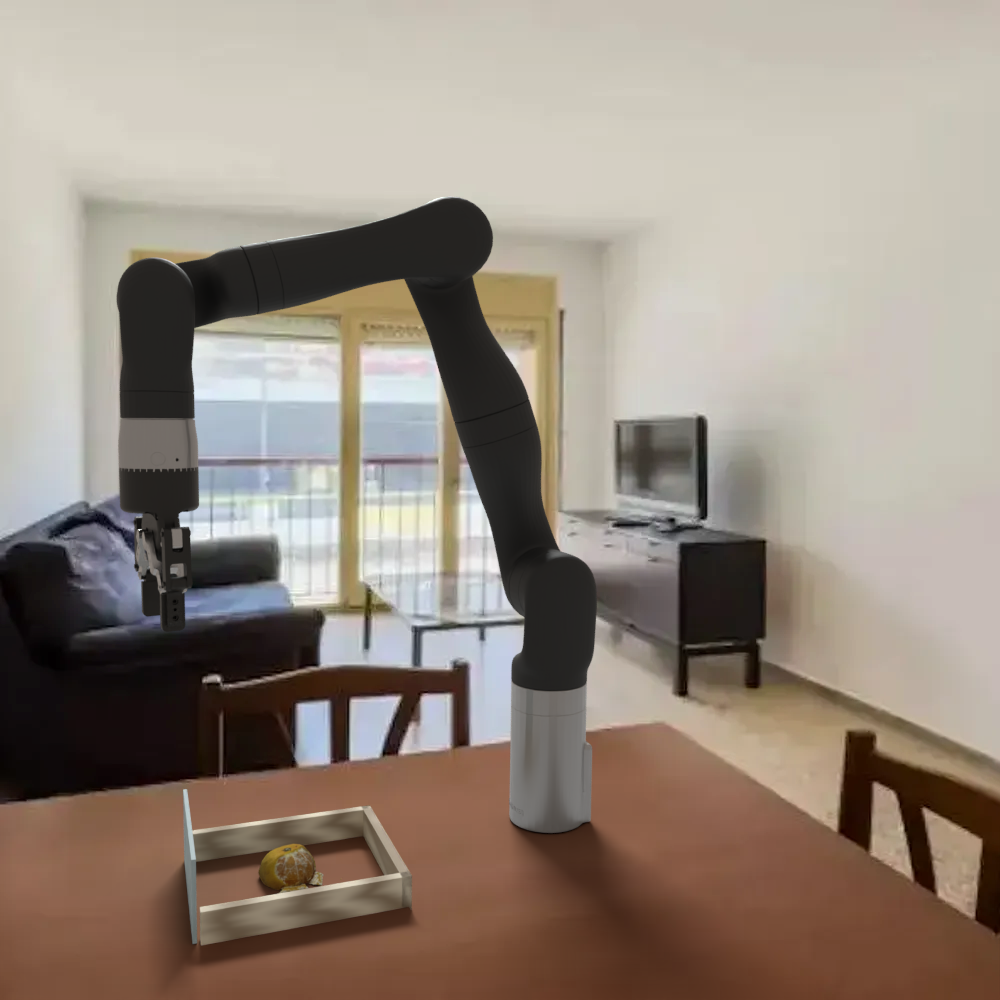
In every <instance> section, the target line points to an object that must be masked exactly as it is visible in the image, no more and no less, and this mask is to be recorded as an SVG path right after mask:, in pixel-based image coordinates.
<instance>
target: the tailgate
mask: <svg viewBox="0 0 1000 1000" xmlns="http://www.w3.org/2000/svg"><path fill="white" fill-rule="evenodd" d="M182 797H183V798H182V799H183V801H182V802H183V806H182V807H183V861H184V862H183V863H184V871H185V882H186V883H185V884H186V891H187V901H188V902H187V903H188V910H189V912H188V913H189V921H190V931H191V941H192V945H195V944H196V945H197V944H198V924H197V923H198V919H197V918H198V915H197V914H198V913H197V911H198V909H197V907H198V906H197V905H198V904H197V903H198V902H197V862H196V856H195V848H194V840H193V832H192V830H193V826H192V825H193V824H192V818H191V810H190V803H189V795H188V789H186V788H185V789H184V788H183V790H182Z"/></svg>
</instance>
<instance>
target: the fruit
mask: <svg viewBox="0 0 1000 1000" xmlns="http://www.w3.org/2000/svg"><path fill="white" fill-rule="evenodd" d="M257 874H258V876H259V879H260V880H261V882H262V884H263V885H264V886H265V887H267V888H270V889H272V890H277V891H279V890H280V892H278V893H277V894H279V893H285V892H291V891H297V890H302V889H308V888H309V887H308V886H307V885H306V884H308V885H313V886H314V885H318V886H319V887H320V886H323V880H324V878H323V877H324V875H325V874H324V873H322V872H320V871H317V865H316V861H315V858H314V857H313V855H312V854H311V852H310V851H309V850H308V849H307V847H305V845H300V844H290V845H285V846H281V847H279V848H275V849H274V850H269V852H268V853H266V855H264V857H263V859H262V860H261V862H260V866H259V869H258V871H257ZM340 880H342V878H340Z"/></svg>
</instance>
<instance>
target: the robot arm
mask: <svg viewBox="0 0 1000 1000" xmlns="http://www.w3.org/2000/svg"><path fill="white" fill-rule="evenodd" d="M493 234H494V233H493V229H492V226H491V222H490V221H489V218H488V217H487V215H486V214H485V212H483V210H482V209H481V207H479V206H478V205H476V204H475V203H473V202H472V201H470V200H468V199H466V198H463V197H460V196H451V195H449V196H442V197H437V198H434V199H431V200H430V201H428V202H425V203H423V204H422V205H420V206H417V207H414V208H412V209H409V210H407V211H404V212H401V213H398V214H395V215H392V216H389V217H386V218H385V217H384V218H383V219H379V220H375V221H371V222H367V223H363V224H359V225H358V224H357V225H355V226H349V227H345V228H341V229H333V230H328V231H322V232H316V233H315V232H314V233H310V234H309V233H308V234H304V235H296V236H290V237H285V238H279V239H272V240H265V241H261V242H255V243H248V244H243V245H240V246H233V247H230V248H229V247H228V248H225V249H222V250H219V251H217V252H215V253H214V254H211V255H209V256H208V257H204V258H199V259H192V260H189V261H188V260H187V261H182V262H177V263H174V262H172V261H171V260H169V259H166V258H162V257H145V258H141V259H139V260H136V261H134V262H133V263H132V264H131V265H129V266H128V267H127V268H126V269H125V271H123V273H122V275H121V276H120V278H119V282H118V284H117V292H116V307H117V309H118V315H119V316H118V317H119V330H120V331H119V333H120V341H121V342H120V344H121V345H120V347H121V355H122V361H121V369H120V374H119V377H120V378H119V413H120V414H119V416H120V421H119V424H120V426H119V432H118V445H117V446H118V449H117V450H118V479H119V480H118V481H119V507H120V510H121V511H123V512H125V513H130V514H136V515H137V514H141V516H134V517H133V518H134V519H133V522H132V523H133V526H134V529H133V531H134V532H133V533H134V535H133V536H134V564H133V567H134V571H135V572H137V577H138V580H140V586H141V589H140V591H141V614H142V615H144V616H145V617H156V616H159V618H160V619H159V621H160V625H159V626H160V629H161V630H162V631H164V632H165V633H170V632H171V633H172V632H179V631H184V629H185V627H186V603H185V602H186V597H185V595H186V592H187V591H188V589H192V587H193V583H194V582H193V577H192V575H193V574H192V573H193V572H192V571H193V570H192V548H191V534H192V532H191V530H190V527H189V526H181V521H180V518H179V517H180V514H181V513H188V512H189V513H190V512H193V511H196V510H197V509H198V508H199V507H200V485H199V483H200V481H199V478H200V477H199V475H200V473H199V441H198V433H197V428H196V420H195V417H196V415H195V414H196V413H195V409H196V408H195V385H194V384H195V383H194V376H193V375H194V373H193V356H194V341H195V329H196V328H200V327H204V326H207V325H211V324H213V323H218V322H220V321H223V320H228V319H233V318H243V317H251V316H256V315H261V314H266V313H271V312H277V311H281V310H286V309H290V308H295V307H299V306H303V305H307V304H311V303H314V302H317V301H321V300H324V299H326V298H330V297H334V296H336V295H340V294H343V293H346V292H350V291H352V290H356V289H360V288H364V287H367V286H371V285H376V284H381V283H386V282H391V281H398V280H404V281H405V284H406V286H407V289H408V291H409V293H410V295H411V297H412V300H413V302H414V304H415V307H416V309H417V312H418V313H419V316H420V318H421V320H422V323H423V325H424V329H425V330H426V333H427V335H428V339H429V342H430V345H431V348H432V351H433V355H434V359H435V362H436V366H437V369H438V372H439V375H440V379H441V383H442V387H443V389H444V392H445V395H446V398H447V402H448V405H449V408H450V409H449V410H450V412H451V416H452V420H453V422H454V426H455V429H456V432H457V435H458V439H459V442H460V444H461V447H462V450H463V454H464V455H465V458H466V461H467V464H468V466H469V469H470V472H471V475H472V479H473V481H474V485H475V488H476V490H477V494H478V496H479V498H480V501H481V503H482V506H483V509H484V510H485V511H484V513H485V514H486V517H487V519H488V523H489V526H490V531H491V534H492V539H493V543H494V548H495V552H496V558H497V563H498V569H499V572H500V577H501V581H502V587H503V590H504V595H505V596H506V599H507V601H508V603H509V605H511V607H512V609H513V610H514V611H515V612H516V613H517V614H519V615H520V616H521V617H523V618H524V620H523V621H524V623H523V624H524V625H523V638H522V640H523V641H522V649H521V651H520V652H519V653H517V654H515V655H514V657H513V658H512V660H511V668H510V669H511V670H510V672H511V673H510V674H511V675H510V681H511V682H510V684H511V685H510V747H509V749H510V751H509V752H510V753H509V755H510V756H509V799H508V801H509V803H508V805H509V815H508V816H509V819H510V821H511V822H512V823H513V824H514V825H516V826H518V827H519V828H521V829H523V830H527V831H530V832H535V833H545V834H547V833H548V834H553V833H554V834H555V833H556V834H557V833H562V832H568V831H571V830H574V829H576V828H578V827H579V826H581V825H582V824H583V823H588V822H591V820H592V783H593V782H592V780H593V779H592V777H593V775H592V774H593V747H592V745H591V744H590V743H589V742H588V741H587V740H586V739H587V734H586V733H587V730H586V729H587V698H588V697H587V694H588V693H587V692H588V690H587V689H588V687H587V686H588V685H587V684H588V683H587V682H588V670H589V668H590V666H591V663H592V660H593V658H594V652H595V641H596V630H597V629H596V626H597V611H598V608H597V607H598V602H597V601H598V593H597V592H598V591H597V584H596V579H595V576H594V574H593V572H592V570H591V568H590V566H589V565H588V564H587V563H586V562H585V561H583V559H581V558H579V556H578V557H577V556H575V555H573V554H572V553H567V552H563V551H561V550H560V548H559V545H558V543H557V541H556V539H555V536H554V534H553V531H552V528H551V526H550V523H549V519H548V517H547V513H546V510H545V507H544V502H543V495H542V462H543V461H542V456H543V455H542V443H541V435H540V432H539V426H538V424H537V421H536V417H535V414H534V411H533V408H532V404H531V401H530V398H529V395H528V392H527V389H526V386H525V384H524V382H523V380H522V377H521V375H520V374H519V372H518V371H517V368H515V365H514V364H513V363H512V361H511V360H510V358H509V357H508V354H506V352H505V351H504V350H503V347H502V346H501V345H500V343H499V342H498V340H497V339H496V337H495V336H494V335H493V332H492V331H491V329H490V327H489V325H488V324H487V323H488V322H487V321H486V318H485V316H484V313H483V310H482V307H481V304H480V300H479V297H478V294H477V293H478V292H477V290H476V285H475V281H474V277H473V276H474V275H475V274H477V273H478V272H479V271H480V270H481V269H482V268H483V267H484V266H485V264H486V263H487V261H488V260H489V257H490V255H491V253H492V249H493V244H494V241H493V240H494V235H493ZM173 574H175V575H176V576H171V575H173Z"/></svg>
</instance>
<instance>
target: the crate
mask: <svg viewBox="0 0 1000 1000" xmlns="http://www.w3.org/2000/svg"><path fill="white" fill-rule="evenodd" d="M192 832H193V840H194V848H195V856H196V863H197V862H204V861H209V860H210V861H211V860H217V859H221V858H222V859H223V858H229V857H236V856H242V855H248V854H255V853H256V854H257V853H261V852H268V851H269V852H270V851H272V850H274V849H275V848H279V847H281V846H285V845H290V844H300V845H303V846H307V845H314V844H320V843H326V842H327V843H328V842H333V841H340V840H345V839H352V838H353V839H354V838H359V837H363V838H364V839H365V842H366V844H367V847H369V850H370V851H371V853H372V855H373V857H374V859H375V861H376V863H377V864H378V866H379V868H380V870H381V871H382V873H383V875H379V876H374V877H367V878H361V879H356V880H349V881H344V882H338V883H331V884H328V885H327V884H325V885H322V886H320V885H319V886H315V887H310V888H309V887H308V889H302V890H297V891H291V892H285V893H280V892H278V893H279V894H278V893H274V894H268V895H263V896H262V895H261V896H257V897H251V898H246V899H240V900H234V901H228V902H222V903H216V904H210V905H204V906H199V940H200V946H206V945H210V944H215V943H222V942H226V941H232V940H233V941H234V940H237V939H242V938H243V939H244V938H248V937H253V936H254V937H255V936H258V935H259V936H260V935H265V934H270V933H275V932H280V931H286V930H293V929H297V928H301V927H308V926H314V925H319V924H325V923H329V922H334V921H340V920H346V919H350V918H351V919H352V918H355V917H360V916H361V917H362V916H368V915H372V914H373V915H374V914H377V913H382V912H388V911H393V910H394V911H395V910H399V909H404V908H409V910H410V911H412V909H413V908H412V906H413V904H412V903H413V897H412V896H413V875H412V873H411V871H410V870H409V869H408V867H407V865H406V863H405V862H404V860H403V859H402V857H401V855H400V854H399V852H398V850H397V848H396V847H395V845H394V843H393V842H392V840H391V838H390V836H389V835H388V834H387V832H386V830H385V829H384V827H383V824H382V823H381V822H380V820H379V818H378V817H377V815H376V813H375V812H374V810H373V808H372V807H371V805H370V804H369V805H362V806H361V805H360V806H355V807H354V806H353V807H347V808H339V809H334V810H327V811H320V812H319V811H318V812H314V813H312V812H311V813H306V814H298V815H291V816H285V817H283V816H282V817H279V818H271V819H263V820H258V821H257V820H256V821H250V822H242V823H237V824H236V823H235V824H230V825H227V824H226V825H221V826H215V827H208V828H198V829H194V830H193V829H192Z"/></svg>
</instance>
